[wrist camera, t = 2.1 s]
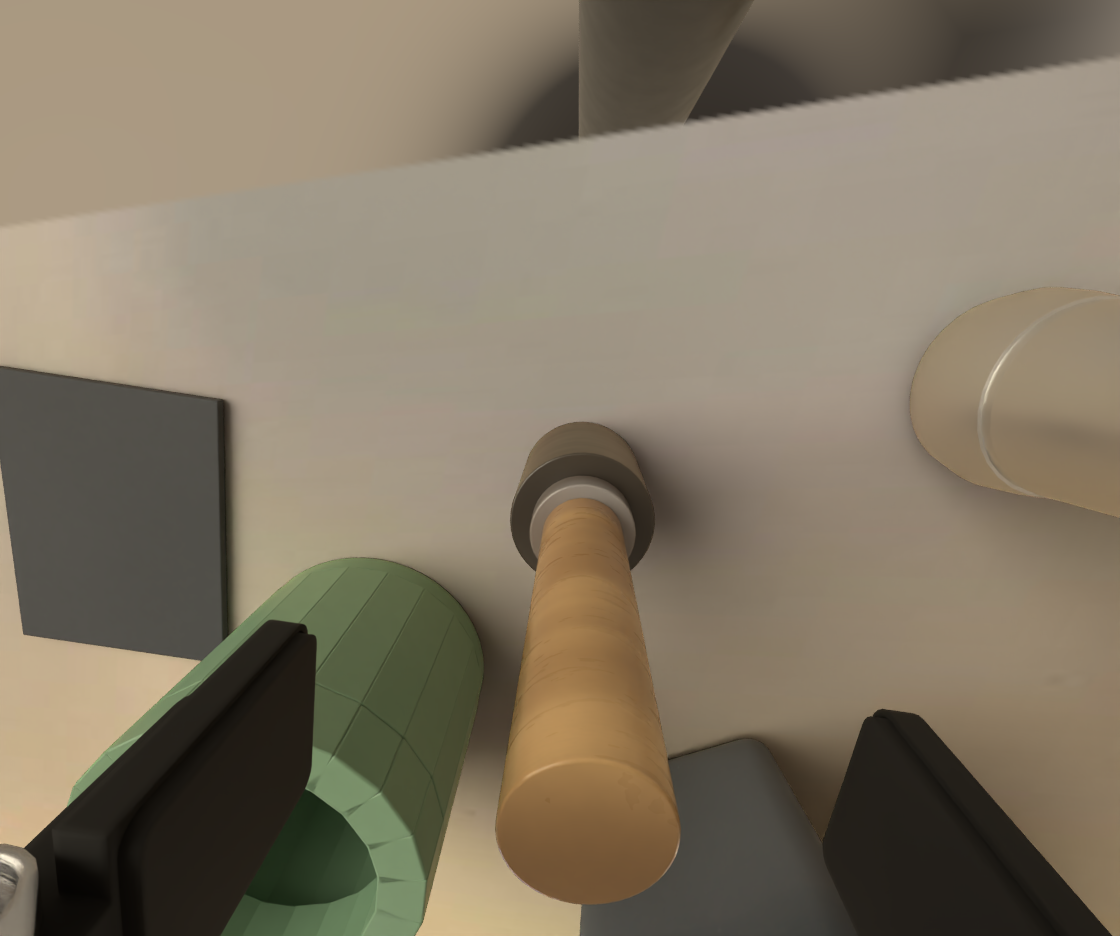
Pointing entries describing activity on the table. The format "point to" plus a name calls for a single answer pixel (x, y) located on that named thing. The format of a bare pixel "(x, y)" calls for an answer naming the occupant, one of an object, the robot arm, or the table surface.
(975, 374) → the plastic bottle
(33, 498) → the mat
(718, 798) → the storage bin
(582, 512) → the brush
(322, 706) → the jar
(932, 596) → the table surface
